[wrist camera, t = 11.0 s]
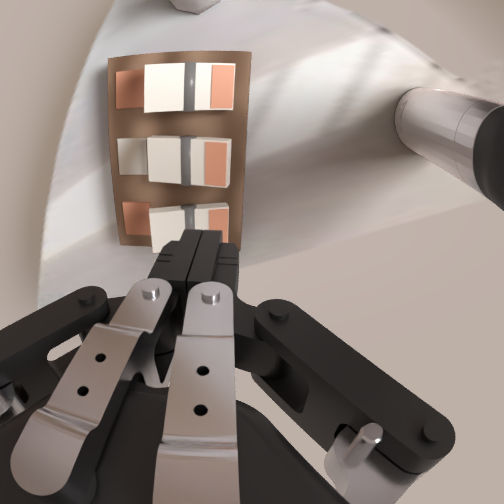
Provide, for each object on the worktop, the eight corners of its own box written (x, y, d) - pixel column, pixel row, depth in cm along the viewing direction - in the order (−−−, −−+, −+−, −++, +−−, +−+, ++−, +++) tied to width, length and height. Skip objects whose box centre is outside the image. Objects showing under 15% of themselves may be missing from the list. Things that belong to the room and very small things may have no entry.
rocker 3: (225, 200, 38) (229, 206, 36) (224, 239, 40) (228, 246, 39) (148, 207, 35) (149, 213, 34) (152, 247, 38) (153, 254, 36)
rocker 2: (232, 137, 32) (227, 140, 30) (230, 184, 35) (226, 189, 33) (153, 134, 33) (146, 137, 31) (155, 177, 36) (148, 182, 34)
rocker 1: (232, 63, 30) (235, 62, 28) (229, 109, 32) (233, 111, 31) (145, 64, 27) (144, 63, 26) (145, 112, 30) (144, 113, 28)
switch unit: (251, 54, 32) (251, 51, 29) (241, 236, 44) (240, 252, 41) (121, 59, 32) (106, 58, 28) (129, 231, 44) (119, 246, 40)
